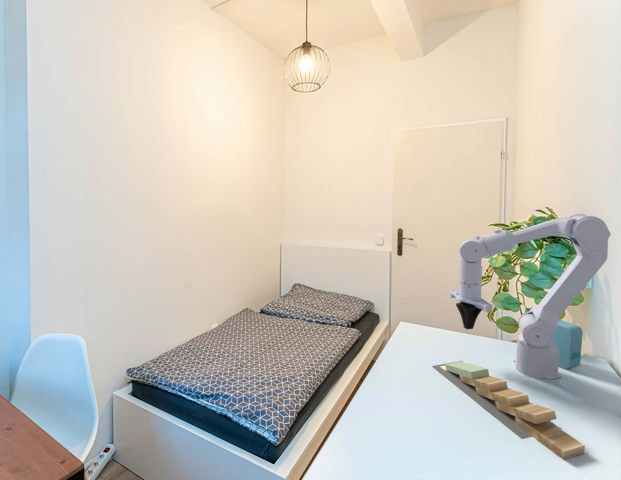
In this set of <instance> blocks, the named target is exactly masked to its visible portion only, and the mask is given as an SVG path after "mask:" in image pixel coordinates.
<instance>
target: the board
mask: <svg viewBox="0 0 621 480" xmlns="http://www.w3.org/2000/svg"><path fill="white" fill-rule="evenodd" d="M455 362H456V361H453V362H452V361H451V362H447V363H446V362H445V363H440V364H435V365H431V367H432V368H433V370H435V371H436V372H438V373H439V374H441V376H443V377H444V378H445V379H447V380H448V381H449V382H450V383H451V384H453V385H454V386H455V387H456V388H457V389H459V390H460V391H462V393H464V394H465V395H467V396H468V397H469V398H470V399H471V400H473V401H474V402H475V403H476V404H478V405H479V406H480V407H481V408H482V409H484V410H485V411H486V412H487V413H489V414H490V415H491V416H493V417H494V418H495V419H496V420H497V421H499V422H500V423H501V424H502V425H504V426H505V427H506V428H508V429H509V430H510V431H511V432H512V433H514V434H515V435H516V436H518V437H519V438H520V439H521V440H522V439H528V438H530V437H532V436H531V435H530V434H529V433H527V432H526V431H525V430H523V429H522V428H521V427H519V426H518V425H517V424H515V416H514V415H511V414H508V413H506V412H503V411H500V410H498V409H496V404H495V400H492V399H489V398H487V397H484V396H482V395H479V394H477V393H476V389H475V386H472V385H470V384H467V383H464V382H461V381H460V376H459V374H456V373H453V372H450V371H447V370H446V365H445V364H450V363H455ZM457 362H464V361H462V360H459V361H457ZM549 422H551V423H552V424H554V425H555V426H557V427H558V428H560V429H561V430H562V428H561V427H560V426H558V425H557V424H555V423H554V422H552V420H551V421H549Z"/></svg>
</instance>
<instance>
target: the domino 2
mask: <svg viewBox="0 0 621 480" xmlns="http://www.w3.org/2000/svg"><path fill="white" fill-rule="evenodd" d="M475 389H476V393H477V394H479V395H482V396H484V397H487V398H489V399H492V400H495V401H497V402H500V403H502V404H505V405H507V406H510V407H511V406H515V405H520V404H524V403H529V402H530V399H529V396H528V395H529V394H527V393H524V392H522V391H521V392H520V391H519V390H515V389H513V388H512V389H511V388H509V387H508V388H506V389H501V390H496V391H491V392H489V391H486V390H484V389H481V388H478V387H475Z"/></svg>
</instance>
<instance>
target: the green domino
mask: <svg viewBox="0 0 621 480" xmlns="http://www.w3.org/2000/svg"><path fill="white" fill-rule="evenodd" d="M454 362H455V363H452V362H449V363H450V364H446V363H444V364H445V365H446V370H447V371H450V372H453V373H456V374H459V375H462V376H465V377H468V378H471V379H474V378H479V377H485V376H490V372H489V368H487V367H482V366H478V365H475V364H471V363H468V362H464V361H463V362H458V361H454Z"/></svg>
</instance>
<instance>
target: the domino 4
mask: <svg viewBox="0 0 621 480" xmlns="http://www.w3.org/2000/svg"><path fill="white" fill-rule="evenodd" d="M551 422H552V421H551ZM551 422H549V421H547V422H543V423H539V424H535V423H532V422H530V421H527V420H524V419H522V418H519V417H516V416H515V424H517V425H518V426H519V427H521V428H522V429H523V430H525V431H526V432H527V433H529V434H530V435H531V437H532V438H534V439H535V440H537V442H539V443H540V444H542V445H543V446H545V447H546V448H547V449H548V450H550V451H551V452H552V453H554V455H556V456H558V457H559V458H561V459H562V460H567V459H570V458H573V457H576V456H580V455H584V454H585V447H586V445H585V444H584V443H582V442H580V441H579V440H578V439H576V438H574V437H573V436H571V435H570V434H569V433H567V432H566V431H564V430H563V429H562V428H561V427H560V428H561V429H560V428H558V427H559V426H558V425H557V426H558V427H557V426H555V425H556V424H555V423H554V424H555V425H554V424H552V423H553V422H552V423H551Z"/></svg>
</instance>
